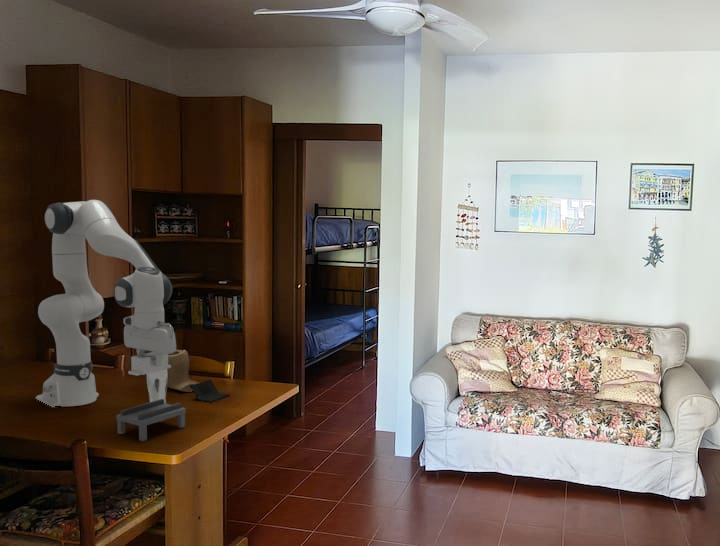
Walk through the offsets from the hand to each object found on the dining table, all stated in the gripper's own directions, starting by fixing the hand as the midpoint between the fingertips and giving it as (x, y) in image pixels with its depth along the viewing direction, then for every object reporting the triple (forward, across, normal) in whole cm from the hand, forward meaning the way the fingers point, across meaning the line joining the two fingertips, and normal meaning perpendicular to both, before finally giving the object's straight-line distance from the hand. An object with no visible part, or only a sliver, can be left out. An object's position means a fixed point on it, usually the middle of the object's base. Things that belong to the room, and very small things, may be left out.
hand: (150, 364), depth 217 cm
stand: (+21, 0, 0) cm, 21 cm away
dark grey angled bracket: (+21, +12, -37) cm, 44 cm away
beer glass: (+21, +16, -16) cm, 31 cm away
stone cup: (+21, +30, -39) cm, 54 cm away
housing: (+2, 0, 0) cm, 2 cm away
